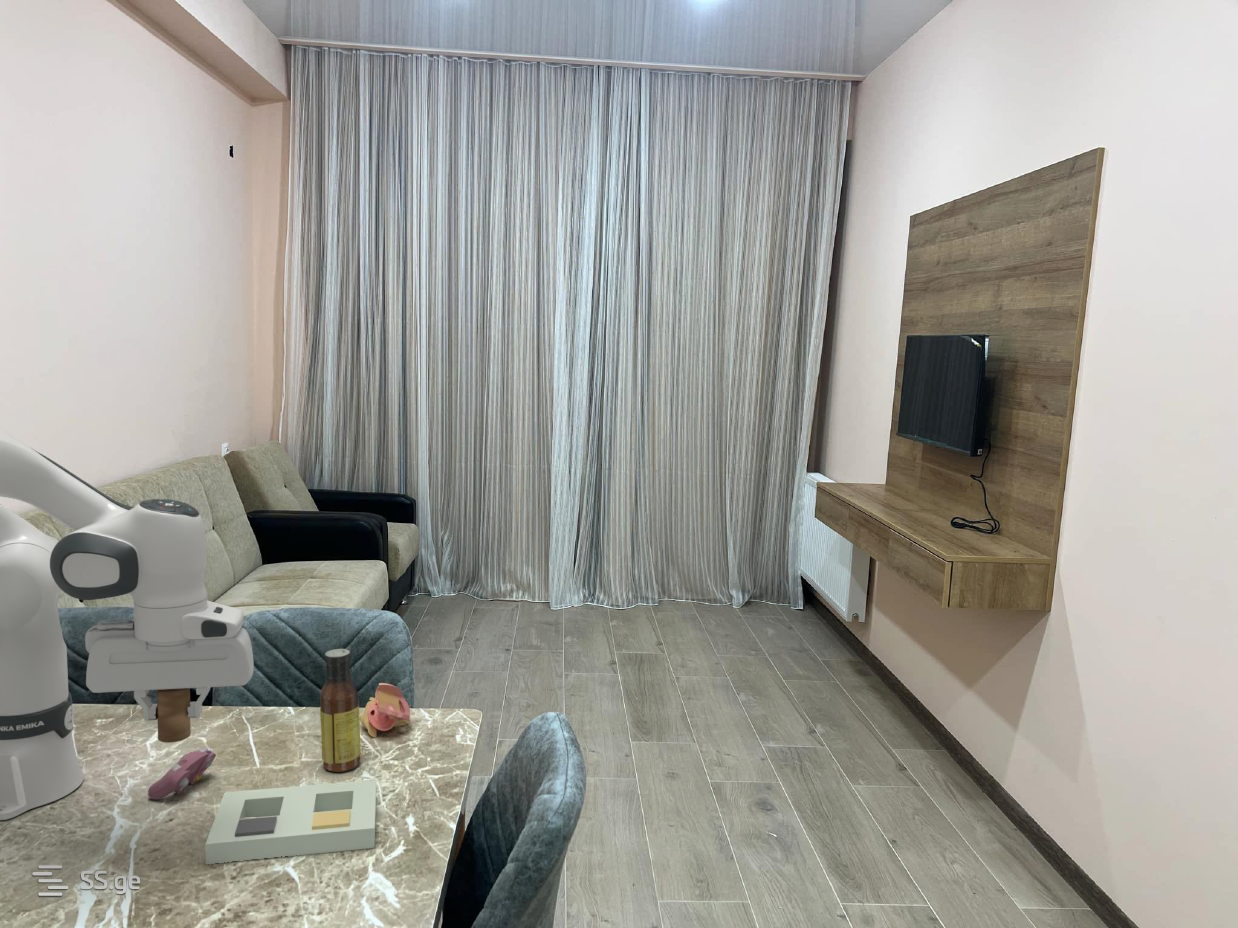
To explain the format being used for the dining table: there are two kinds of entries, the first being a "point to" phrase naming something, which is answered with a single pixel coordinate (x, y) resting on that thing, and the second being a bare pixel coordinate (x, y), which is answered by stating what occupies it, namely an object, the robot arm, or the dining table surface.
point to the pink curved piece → (182, 774)
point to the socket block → (293, 821)
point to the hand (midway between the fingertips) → (173, 717)
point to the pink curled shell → (385, 710)
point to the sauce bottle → (339, 715)
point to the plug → (173, 714)
